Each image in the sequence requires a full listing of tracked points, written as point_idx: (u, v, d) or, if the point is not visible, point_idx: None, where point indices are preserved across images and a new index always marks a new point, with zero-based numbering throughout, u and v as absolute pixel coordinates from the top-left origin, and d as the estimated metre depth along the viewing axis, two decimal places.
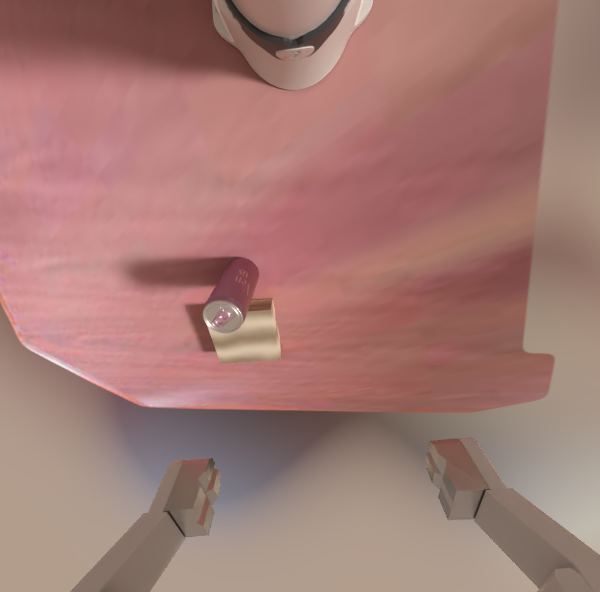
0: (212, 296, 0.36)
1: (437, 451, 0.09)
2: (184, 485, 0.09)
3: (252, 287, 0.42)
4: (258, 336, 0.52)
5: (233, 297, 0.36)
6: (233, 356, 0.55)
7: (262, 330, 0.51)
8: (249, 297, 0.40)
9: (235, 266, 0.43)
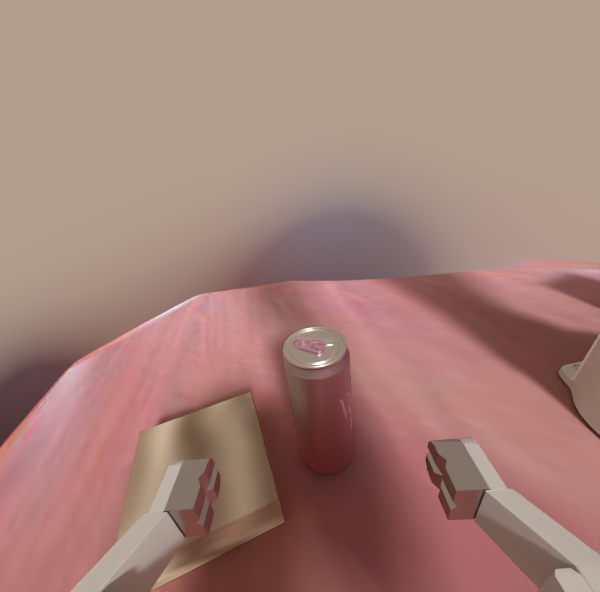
0: None
1: (437, 451, 0.09)
2: (184, 485, 0.09)
3: (338, 428, 0.24)
4: None
5: (349, 359, 0.22)
6: (152, 450, 0.27)
7: (218, 495, 0.23)
8: (334, 407, 0.22)
9: None
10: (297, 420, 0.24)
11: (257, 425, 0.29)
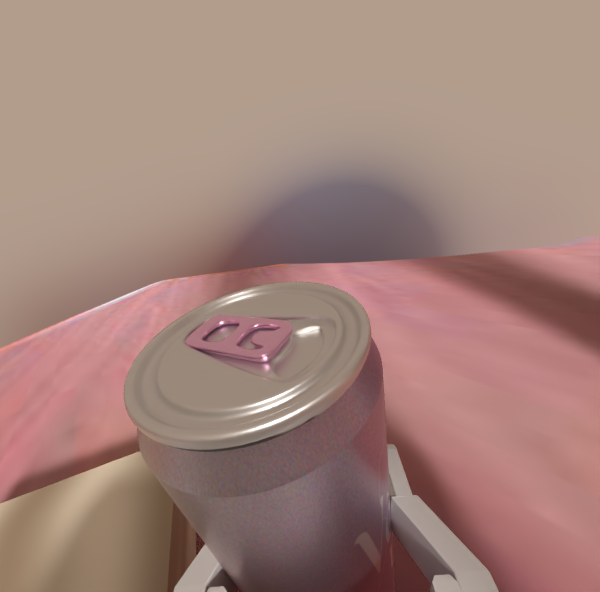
0: None
1: None
2: None
3: None
4: None
5: None
6: None
7: None
8: (338, 567, 0.06)
9: None
10: None
11: (167, 533, 0.12)
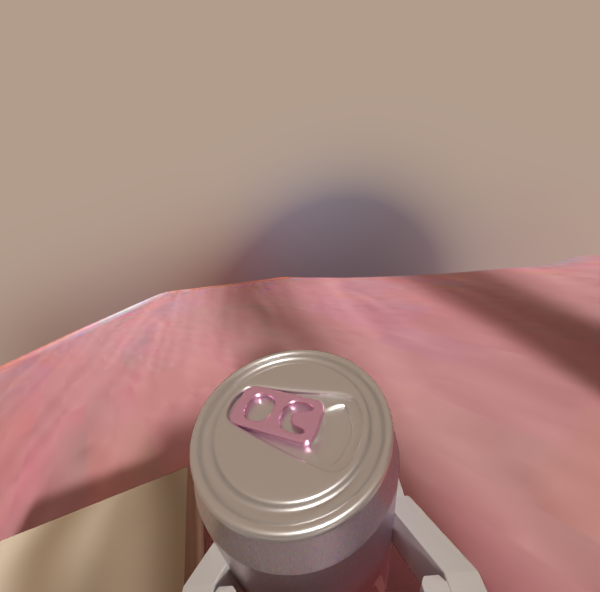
0: None
1: None
2: None
3: None
4: None
5: (398, 453, 0.07)
6: None
7: None
8: None
9: None
10: None
11: (181, 565, 0.13)
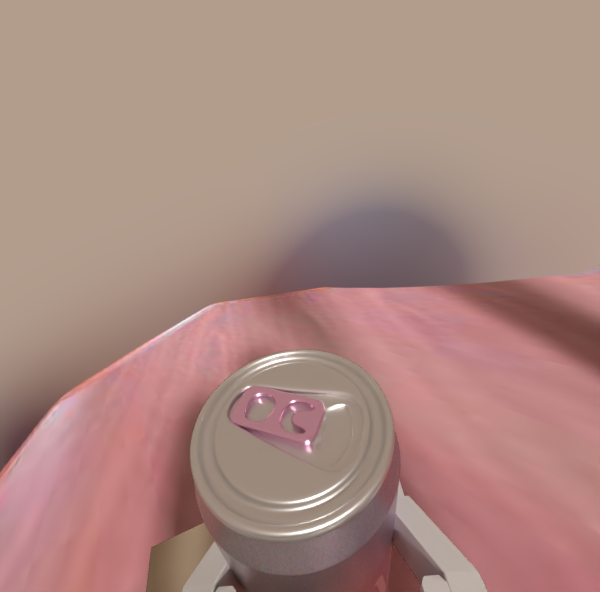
0: None
1: None
2: None
3: None
4: None
5: (399, 452, 0.07)
6: None
7: None
8: None
9: None
10: None
11: None
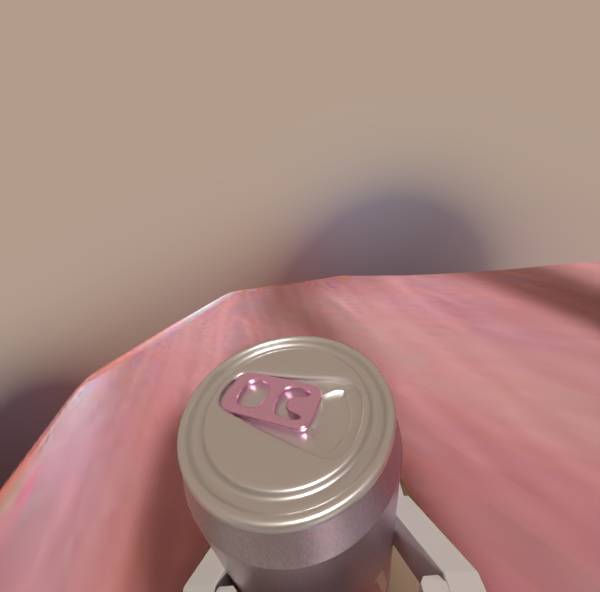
0: None
1: None
2: None
3: None
4: None
5: (400, 440, 0.07)
6: None
7: None
8: None
9: None
10: None
11: None
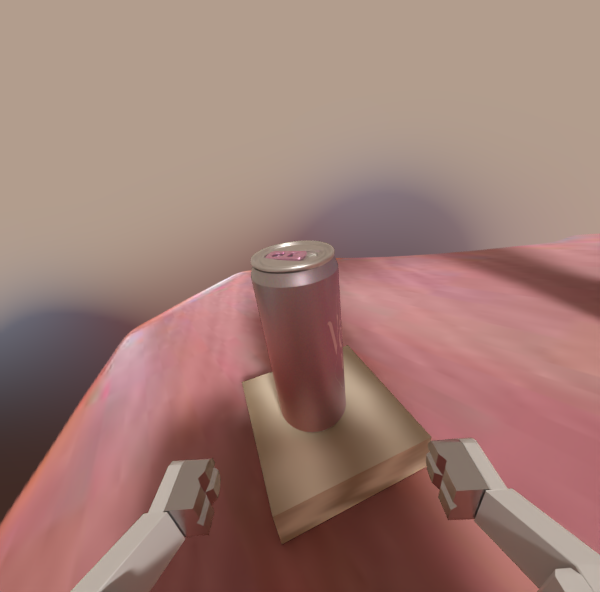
0: None
1: (437, 451, 0.09)
2: (184, 485, 0.09)
3: (326, 365, 0.18)
4: (339, 432, 0.21)
5: None
6: (263, 398, 0.26)
7: (360, 435, 0.21)
8: (322, 332, 0.17)
9: None
10: (274, 361, 0.19)
11: (371, 373, 0.27)
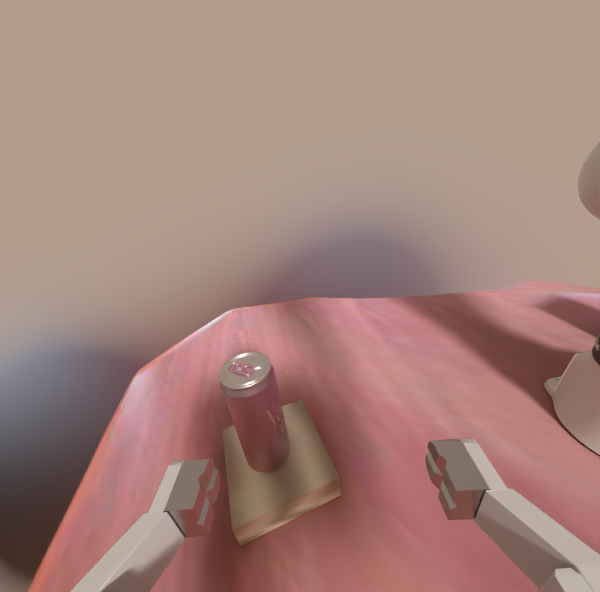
0: None
1: (437, 451, 0.09)
2: (184, 485, 0.09)
3: (268, 434, 0.29)
4: (282, 472, 0.32)
5: (272, 378, 0.28)
6: (235, 443, 0.37)
7: (295, 475, 0.32)
8: (262, 417, 0.28)
9: None
10: (236, 430, 0.30)
11: (313, 425, 0.38)
